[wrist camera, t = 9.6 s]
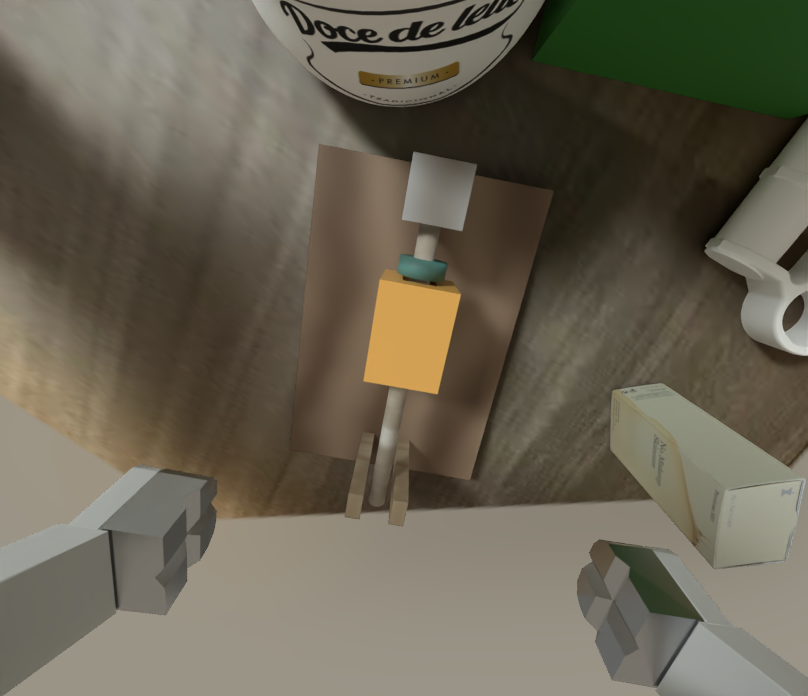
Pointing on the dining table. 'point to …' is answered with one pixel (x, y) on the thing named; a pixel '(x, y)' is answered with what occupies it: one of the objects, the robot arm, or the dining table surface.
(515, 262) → the board
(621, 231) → the dining table surface
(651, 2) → the hardback book
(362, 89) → the milk container
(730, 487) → the skincare box
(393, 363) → the marker sleeve
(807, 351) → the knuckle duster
